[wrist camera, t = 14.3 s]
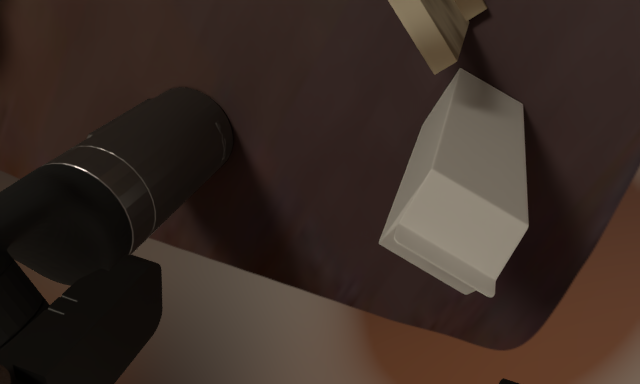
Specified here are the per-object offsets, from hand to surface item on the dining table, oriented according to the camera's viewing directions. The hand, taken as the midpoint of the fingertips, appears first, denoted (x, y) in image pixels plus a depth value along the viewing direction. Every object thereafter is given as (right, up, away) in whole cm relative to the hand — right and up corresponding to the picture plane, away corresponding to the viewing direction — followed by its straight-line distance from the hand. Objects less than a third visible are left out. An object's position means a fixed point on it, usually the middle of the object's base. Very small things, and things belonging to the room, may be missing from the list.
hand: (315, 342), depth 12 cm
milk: (+13, +10, +33) cm, 37 cm away
